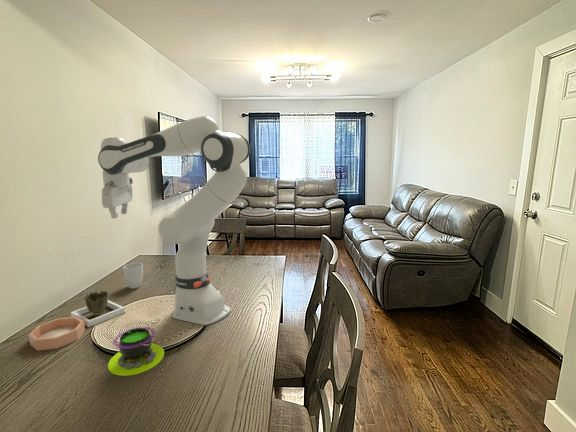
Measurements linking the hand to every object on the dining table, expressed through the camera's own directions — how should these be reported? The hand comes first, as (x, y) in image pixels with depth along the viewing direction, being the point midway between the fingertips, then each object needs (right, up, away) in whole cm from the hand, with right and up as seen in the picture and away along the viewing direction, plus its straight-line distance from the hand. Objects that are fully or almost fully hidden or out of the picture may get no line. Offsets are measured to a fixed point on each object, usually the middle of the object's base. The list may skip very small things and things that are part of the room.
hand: (119, 215), depth 124 cm
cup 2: (-5, -38, -6) cm, 38 cm away
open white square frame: (-5, -37, -6) cm, 38 cm away
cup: (-4, -33, +21) cm, 39 cm away
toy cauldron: (+22, -42, -32) cm, 57 cm away
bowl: (-9, -40, -21) cm, 46 cm away
